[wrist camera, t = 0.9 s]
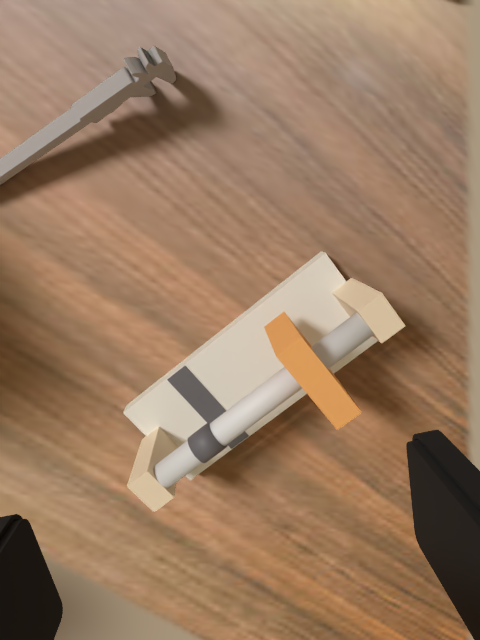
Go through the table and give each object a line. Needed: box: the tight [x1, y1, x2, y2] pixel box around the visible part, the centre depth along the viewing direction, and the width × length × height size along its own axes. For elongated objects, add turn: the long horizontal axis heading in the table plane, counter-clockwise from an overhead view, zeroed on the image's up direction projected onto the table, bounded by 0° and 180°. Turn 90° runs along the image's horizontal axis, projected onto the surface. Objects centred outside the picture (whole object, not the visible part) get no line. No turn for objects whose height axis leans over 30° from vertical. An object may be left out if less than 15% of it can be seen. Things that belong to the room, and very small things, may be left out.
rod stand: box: [123, 252, 405, 512], centre depth 33 cm, size 23×9×8 cm, turn 129°
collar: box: [264, 312, 362, 430], centre depth 30 cm, size 2×7×7 cm, turn 38°
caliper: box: [0, 46, 176, 185], centre depth 29 cm, size 20×1×6 cm, turn 119°
